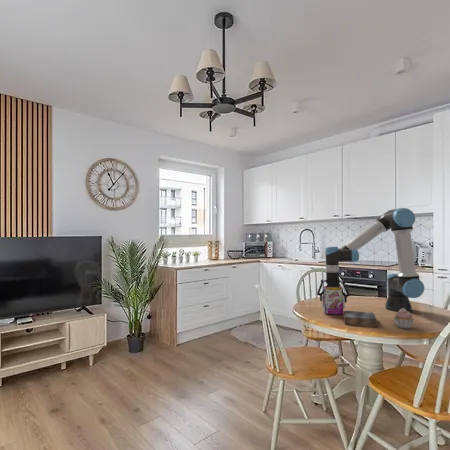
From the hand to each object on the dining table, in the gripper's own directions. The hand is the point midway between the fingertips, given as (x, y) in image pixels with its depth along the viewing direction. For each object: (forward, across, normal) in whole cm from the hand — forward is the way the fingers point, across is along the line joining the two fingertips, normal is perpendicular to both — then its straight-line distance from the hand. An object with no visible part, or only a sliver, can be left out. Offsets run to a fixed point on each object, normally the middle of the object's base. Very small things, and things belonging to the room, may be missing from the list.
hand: (333, 307), depth 191 cm
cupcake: (+5, +35, -18) cm, 39 cm away
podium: (+4, +14, -14) cm, 20 cm away
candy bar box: (+4, 0, 0) cm, 4 cm away
